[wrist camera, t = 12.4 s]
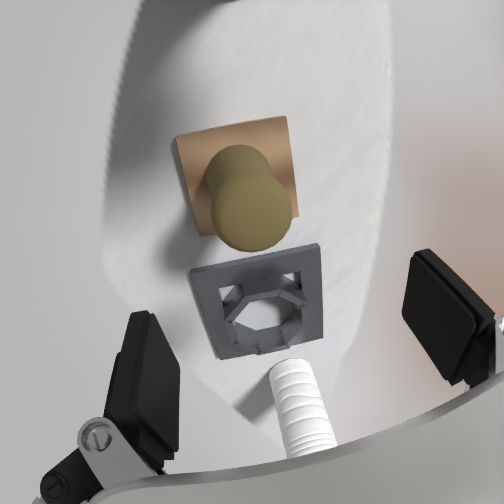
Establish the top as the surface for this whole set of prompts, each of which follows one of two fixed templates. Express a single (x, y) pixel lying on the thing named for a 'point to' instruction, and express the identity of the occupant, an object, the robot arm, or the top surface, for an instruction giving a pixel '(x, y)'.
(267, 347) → the grey octagonal holder
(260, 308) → the top surface
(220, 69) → the top surface
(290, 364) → the water bottle
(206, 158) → the coaster board
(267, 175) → the cork
